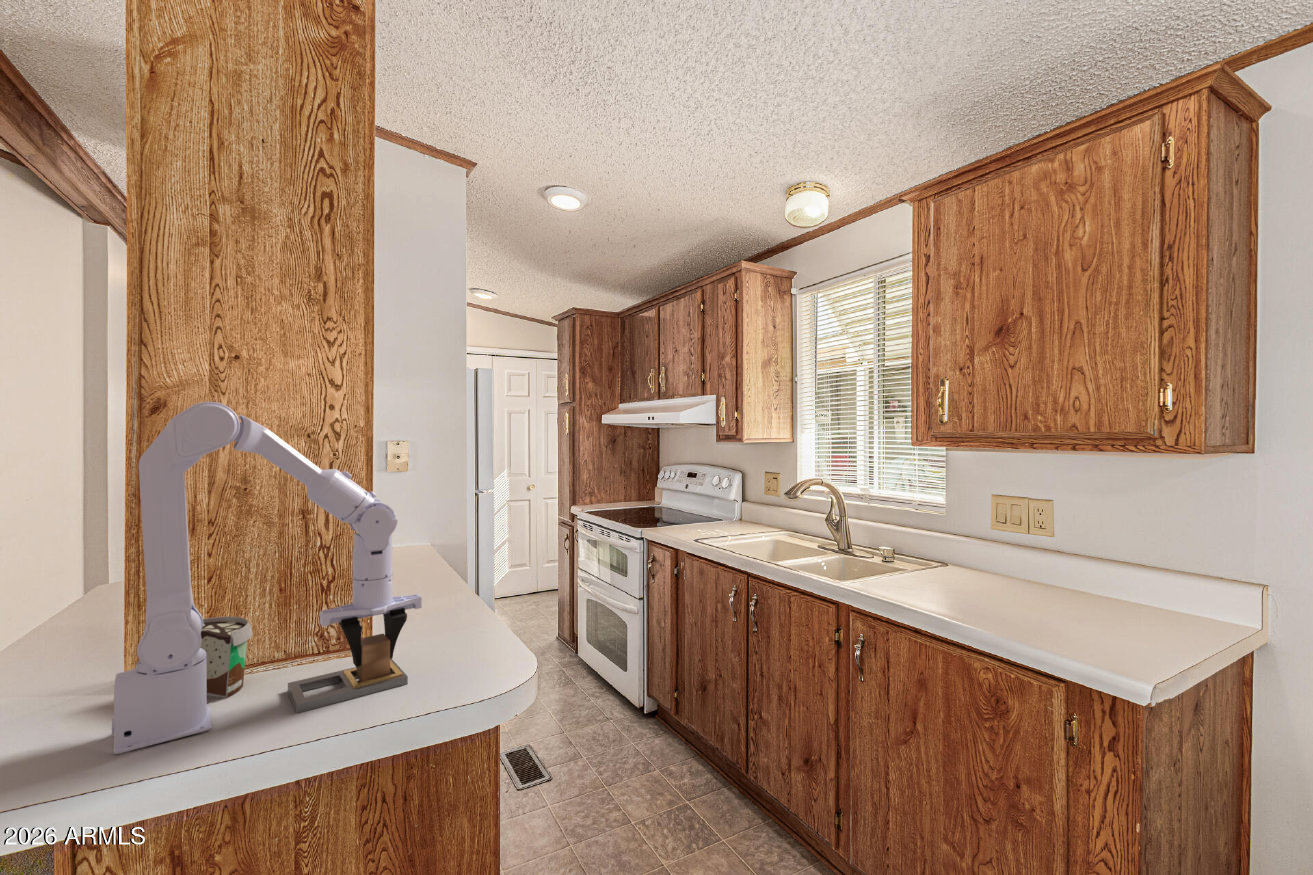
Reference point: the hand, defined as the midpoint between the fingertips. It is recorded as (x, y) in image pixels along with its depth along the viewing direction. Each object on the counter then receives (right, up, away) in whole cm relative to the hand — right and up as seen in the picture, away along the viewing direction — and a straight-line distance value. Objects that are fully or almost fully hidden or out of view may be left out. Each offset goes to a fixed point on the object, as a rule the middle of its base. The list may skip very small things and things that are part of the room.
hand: (373, 660), depth 91 cm
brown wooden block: (0, -3, 0) cm, 3 cm away
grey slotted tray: (-3, -3, -2) cm, 5 cm away
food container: (-23, -3, -2) cm, 23 cm away
